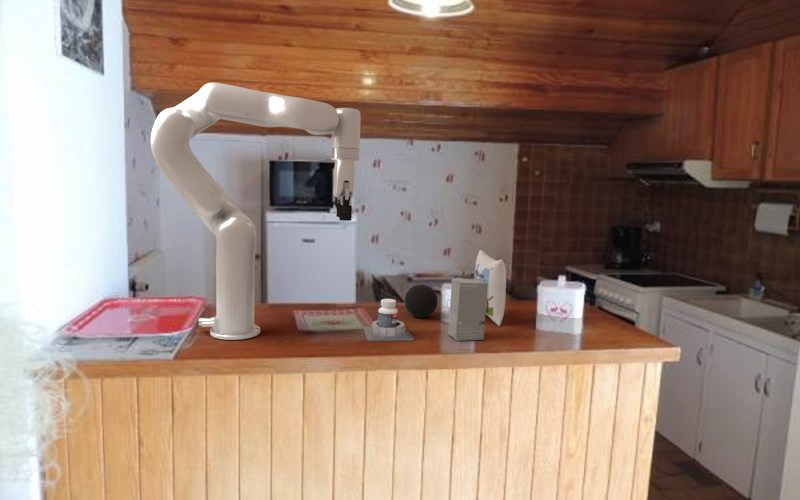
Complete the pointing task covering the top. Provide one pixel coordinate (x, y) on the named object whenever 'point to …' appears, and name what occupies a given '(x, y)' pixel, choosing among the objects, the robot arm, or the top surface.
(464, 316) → the skincare box
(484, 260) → the pouch
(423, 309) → the speaker
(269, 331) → the top surface
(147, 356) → the top surface
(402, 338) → the plate
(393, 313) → the pill bottle
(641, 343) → the top surface
